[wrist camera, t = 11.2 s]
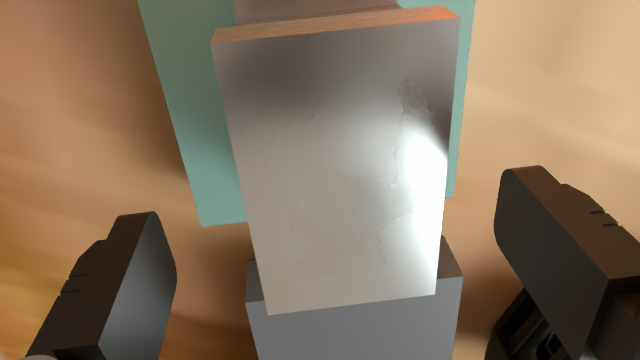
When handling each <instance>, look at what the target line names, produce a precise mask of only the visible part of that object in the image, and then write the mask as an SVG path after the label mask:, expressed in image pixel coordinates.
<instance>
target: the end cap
mask: <svg viewBox="0 0 640 360" xmlns="http://www.w3.org/2000/svg"><path fill="white" fill-rule="evenodd" d="M484 360H572V358H571V357H570V355H569V354H568V352H567V351H566V349H565V348H564V346H563V345H562V343H561V341H560V340H559V338H558V337H557V335H556V334H555V332H554V331H553V329H552V328H551V326H550V325H549V323H548V322H547V320H546V319H545V317H544V316H543V314H542V312H541V311H540V309H539V308H538V306H537V305H536V303H535V302H534V300H533V299H532V297H531V296H530V294H529V293H528V291H527V290H526V288H525V287H524V289H523V290H522V291H521V292H520V294H519V295H518V296H517V297H516V299H515V300H514V301H513V302H512V304H511V305H510V306H509V307H508V309H507V310H506V311H505V312H504V314H503V315H502V316H501V317H500V319H499V320H498V321H497V323H496V325H495V327H494V329H493V332H492V336H491V338H490V340H489V342H488V345H487V348H486V352H485V359H484Z"/></svg>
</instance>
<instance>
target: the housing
mask: <svg viewBox="0 0 640 360" xmlns="http://www.w3.org/2000/svg"><path fill="white" fill-rule="evenodd" d="M232 5H233V10H234V16H235V24H234V26H230V27H220V28H216V29H215V32H214V34H213V36H212V39H211V41H210V48H211V53H212V58H213V62H214V67H215V71H216V76H217V81H218V85H219V90H220V95H221V99H222V104H223V109H224V113H225V118H226V123H227V127H228V132H229V136H230V141H231V146H232V150H233V155H234V160H235V164H236V169H237V174H238V178H239V183H240V188H241V192H242V197H243V202H244V206H245V211H246V215H247V220H248V225H249V229H250V234H251V239H252V243H253V248H254V253H255V257H256V262H257V267H258V271H259V276H260V280H261V285H262V290H263V294H264V299H265V304H266V308H267V313H268V315H275V314H283V313H291V312H299V311H307V310H315V309H323V308H330V307H338V306H346V305H354V304H362V303H370V302H378V301H386V300H394V299H402V298H410V297H418V296H426V295H434V294H435V289H436V278H437V268H438V257H439V246H440V236H441V225H442V215H443V204H444V193H445V183H446V172H447V161H448V151H449V140H450V130H451V119H452V108H453V98H454V87H455V77H456V66H457V55H458V45H459V34H460V24H461V17H460V16H458V15H457V14H455V13H454V12H452V11H451V10H449V9H448V8H446V7H445V6H443V5H432V6H423V7H413V8H404V9H403V8H402V7H401V6H400V5H399V4H398V0H232Z"/></svg>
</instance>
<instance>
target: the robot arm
mask: <svg viewBox="0 0 640 360" xmlns="http://www.w3.org/2000/svg"><path fill="white" fill-rule="evenodd" d="M494 234H495V238H496V241H497V244H498V246H499V248H500V250H501V251H502V253H503V254H504V256H505V257H506V259H507V260H508V262H509V264H510V265H511V267H512V268H513V270H514V271H515V273H516V274H517V276H518V277H519V279H520V280H521V282H522V283H523V285H524V286H525V288H526V290H527V291H528V293H529V294H530V296H531V297H532V299H533V300H534V302H535V303H536V305H537V306H538V308H539V309H540V311H541V312H542V314H543V316H544V317H545V319H546V320H547V322H548V323H549V325H550V326H551V328H552V329H553V331H554V332H555V334H556V335H557V337H558V338H559V340H560V341H561V343H562V345H563V346H564V348H565V349H566V351H567V352H568V354H569V355H570V357H571V358H572V360H640V243H639V242H638V241H637V240H636V239H635V238H634V237H633V236H632V235H631V234H630V233H629V232H627V231H626V230H625V229H624V228H623V227H622V226H618V222H617V221H616V220H615V219H613V218H612V217H611V216H610V215H609V214H608V213H606V214H605V210H604V209H603V208H602V207H601V206H600V205H598V204H597V203H596V202H595V201H594V200H593V199H592V198H591V197H590V196H589V195H587V194H585V193H583V192H581V191H579V190H577V189H575V188H573V187H571V186H570V185H568V184H560V183H559V182H558V181H557V180H556V179H555V178H554V177H553V176H552V175H551V174H550V173H549V172H548V171H547V170H546V169H545V168H544V167H542V166H539V165H537V166H529V167H520V168H512V169H506V170H505V171H504V172H503V173H502V176H501V181H500V187H499V193H498V199H497V206H496V212H495V218H494ZM176 284H177V273H176V265H175V261H174V258H173V256H172V253H171V250H170V247H169V244H168V241H167V239H166V236H165V233H164V230H163V227H162V224H161V222H160V219H159V217H158V215H157V214H156V213H155V212H154V211H152V212H144V213H136V214H128V215H120V216H118V217H117V219H116V221H115V223H114V225H113V227H112V229H111V231H110V233H109V235H108V237H107V239H106V240H98V241H96V242H95V243H94V244H93V245H92V246H91V247H90V248H89V249H88V250H87V251H85V252H84V253H83V254H82V255H81V256H80V257H79V258H78V260H77V262H76V264H75V266H74V268H73V269H72V271H71V273H70V275H69V280H66V282H65V284H64V286H63V288H62V290H61V292H60V293H61V295H60V296H58V297H57V299H56V301H55V303H54V304H53V306H52V308H51V310H50V312H49V314H48V315H47V317H46V319H45V321H44V323H43V325H42V327H41V328H40V330H39V332H38V334H37V336H36V338H35V339H34V341H33V343H32V345H31V347H30V349H29V350H28V352H27V354H26V356H25V358H21V359H19V360H158V358H159V354H160V350H161V346H162V342H163V338H164V334H165V330H166V326H167V322H168V318H169V314H170V310H171V306H172V302H173V298H174V294H175V290H176Z"/></svg>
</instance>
